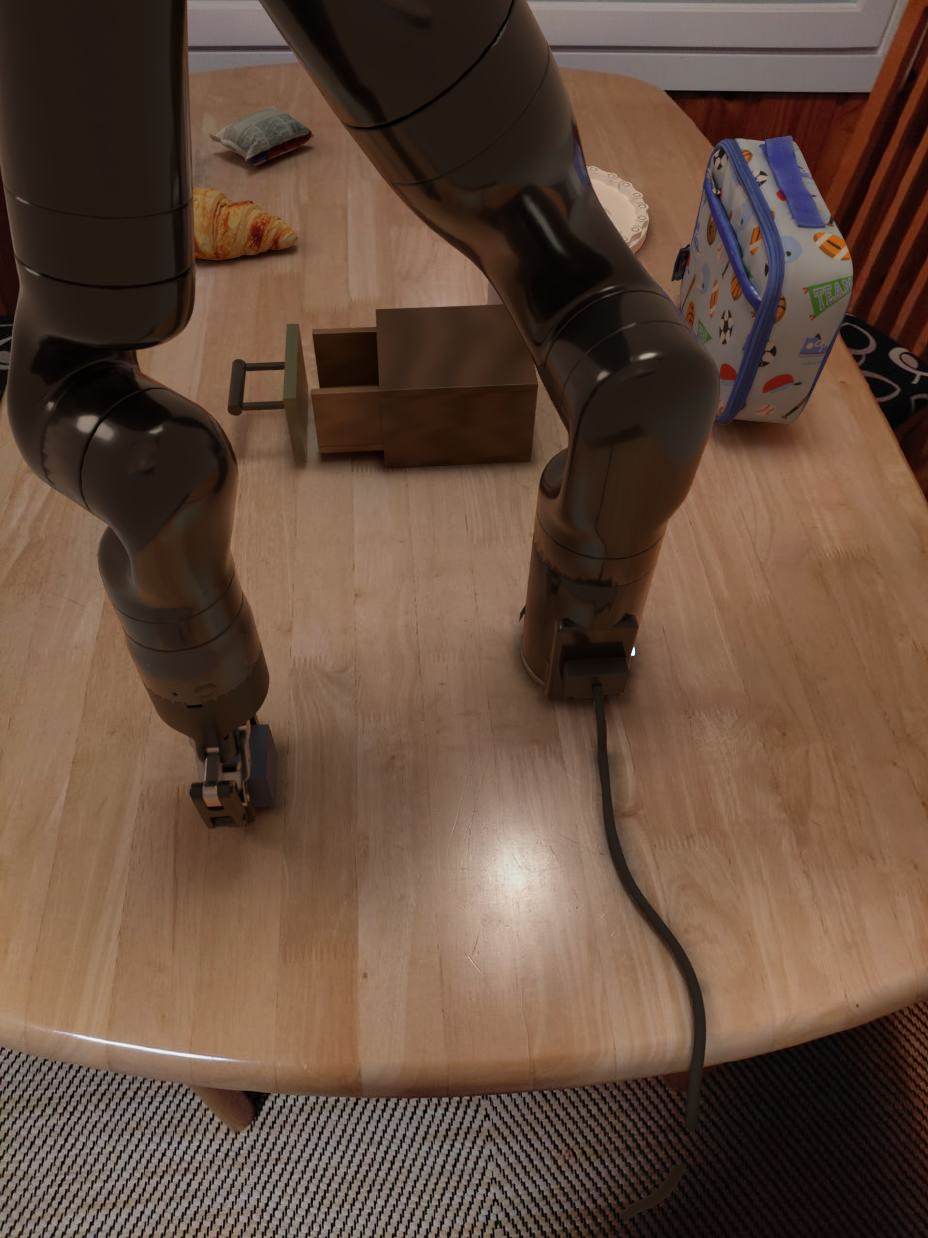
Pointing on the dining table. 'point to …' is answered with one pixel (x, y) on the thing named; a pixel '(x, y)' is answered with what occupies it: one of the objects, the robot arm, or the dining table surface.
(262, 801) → the block
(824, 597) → the dining table surface
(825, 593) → the dining table surface
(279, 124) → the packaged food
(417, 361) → the cabinet
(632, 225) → the medallion
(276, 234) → the croissant
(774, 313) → the lunch box
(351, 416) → the drawer
